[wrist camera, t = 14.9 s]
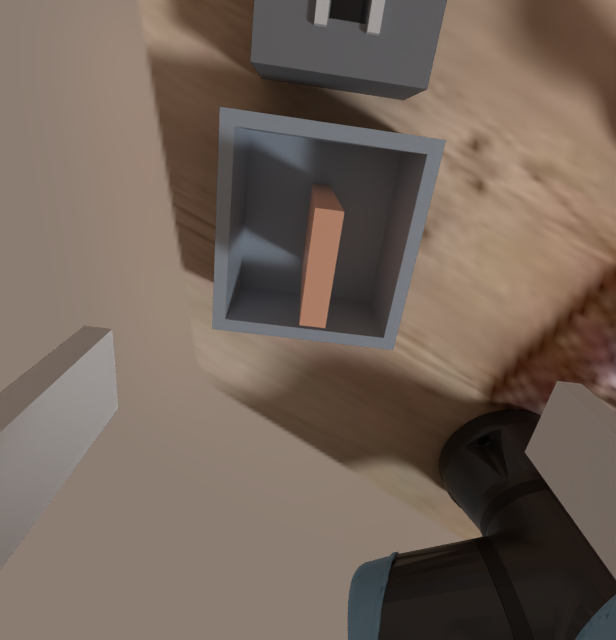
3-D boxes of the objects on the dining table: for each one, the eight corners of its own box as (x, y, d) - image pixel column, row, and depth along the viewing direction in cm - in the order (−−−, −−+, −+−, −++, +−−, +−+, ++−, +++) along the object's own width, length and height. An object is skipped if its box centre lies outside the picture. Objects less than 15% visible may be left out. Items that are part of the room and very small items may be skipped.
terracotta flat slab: (318, 261, 37) (325, 328, 24) (302, 259, 37) (299, 325, 24) (329, 185, 35) (344, 211, 21) (312, 183, 34) (315, 207, 21)
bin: (375, 308, 41) (393, 350, 32) (231, 290, 40) (212, 328, 32) (412, 141, 34) (446, 140, 26) (241, 116, 33) (219, 106, 25)
